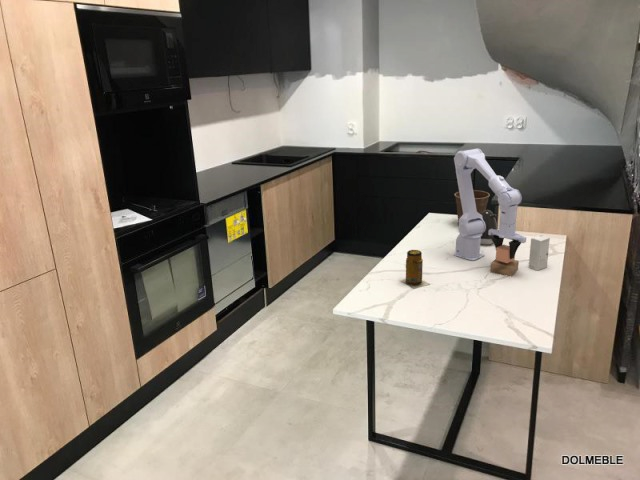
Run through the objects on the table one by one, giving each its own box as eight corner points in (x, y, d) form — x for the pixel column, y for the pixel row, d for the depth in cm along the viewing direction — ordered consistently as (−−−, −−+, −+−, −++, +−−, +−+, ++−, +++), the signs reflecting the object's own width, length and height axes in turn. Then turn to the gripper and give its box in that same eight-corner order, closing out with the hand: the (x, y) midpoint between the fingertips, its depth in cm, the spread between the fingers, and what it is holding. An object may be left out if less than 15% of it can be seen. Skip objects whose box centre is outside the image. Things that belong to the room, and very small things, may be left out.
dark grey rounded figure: (485, 248, 218) (487, 214, 213) (468, 242, 226) (469, 209, 221) (502, 244, 222) (505, 210, 217) (485, 237, 231) (487, 205, 226)
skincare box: (538, 270, 193) (541, 241, 189) (527, 267, 196) (530, 238, 192) (547, 267, 196) (550, 237, 192) (537, 263, 199) (540, 234, 195)
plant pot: (454, 231, 241) (456, 198, 236) (451, 221, 256) (453, 190, 251) (490, 231, 239) (492, 198, 233) (485, 221, 254) (487, 189, 248)
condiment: (416, 276, 193) (416, 247, 189) (430, 284, 186) (430, 254, 182) (400, 280, 190) (400, 251, 186) (413, 288, 183) (414, 258, 179)
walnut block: (490, 273, 194) (490, 263, 192) (497, 266, 200) (497, 256, 198) (511, 277, 189) (512, 267, 188) (517, 270, 195) (518, 260, 194)
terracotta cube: (495, 259, 193) (496, 247, 191) (502, 256, 196) (503, 244, 194) (507, 263, 189) (508, 250, 188) (514, 259, 192) (515, 247, 191)
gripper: (484, 220, 191) (482, 254, 195) (520, 228, 180) (517, 264, 185) (495, 216, 195) (493, 249, 199) (530, 224, 184) (527, 259, 189)
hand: (505, 256), depth 192 cm, fingers closed on terracotta cube, 5 cm apart
